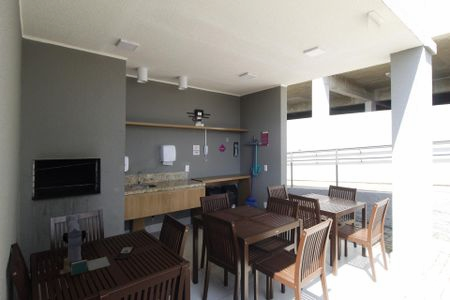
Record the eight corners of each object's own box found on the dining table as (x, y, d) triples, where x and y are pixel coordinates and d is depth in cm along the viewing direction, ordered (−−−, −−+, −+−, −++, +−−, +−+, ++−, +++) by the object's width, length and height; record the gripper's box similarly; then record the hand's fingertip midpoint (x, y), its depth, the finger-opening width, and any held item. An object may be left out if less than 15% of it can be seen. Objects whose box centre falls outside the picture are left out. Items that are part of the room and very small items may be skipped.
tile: (71, 274, 145) (71, 263, 145) (86, 270, 150) (86, 259, 150) (71, 275, 144) (71, 264, 144) (87, 271, 149) (87, 260, 148)
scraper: (59, 271, 149) (59, 259, 149) (73, 268, 153) (73, 256, 153) (60, 274, 145) (60, 261, 145) (73, 270, 150) (73, 258, 149)
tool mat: (86, 262, 160) (86, 261, 160) (106, 257, 167) (106, 256, 167) (88, 271, 149) (89, 270, 149) (110, 265, 156) (110, 265, 156)
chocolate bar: (114, 259, 164) (121, 247, 182) (114, 260, 164) (121, 248, 182) (128, 258, 165) (134, 247, 183) (128, 259, 165) (134, 248, 183)
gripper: (61, 226, 154) (60, 236, 142) (87, 223, 162) (89, 233, 150) (60, 237, 155) (60, 248, 143) (86, 233, 163) (88, 243, 151)
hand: (75, 241), depth 147 cm, fingers open, 7 cm apart
